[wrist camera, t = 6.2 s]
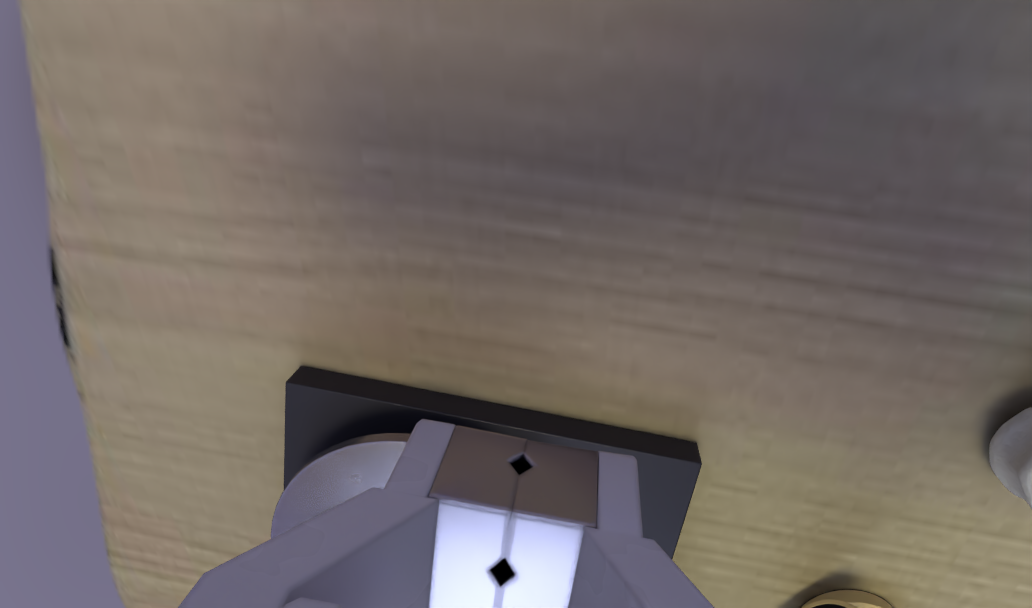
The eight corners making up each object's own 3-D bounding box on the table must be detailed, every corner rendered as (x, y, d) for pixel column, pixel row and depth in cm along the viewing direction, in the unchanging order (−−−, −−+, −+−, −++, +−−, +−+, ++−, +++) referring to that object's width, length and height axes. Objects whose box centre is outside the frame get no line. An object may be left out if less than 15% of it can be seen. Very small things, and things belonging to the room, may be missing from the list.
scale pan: (581, 465, 23) (580, 476, 22) (531, 683, 27) (530, 696, 27) (278, 405, 24) (271, 414, 23) (275, 627, 28) (269, 639, 27)
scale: (708, 444, 25) (722, 493, 23) (635, 677, 30) (639, 741, 28) (300, 365, 26) (265, 403, 24) (294, 604, 31) (264, 658, 29)
